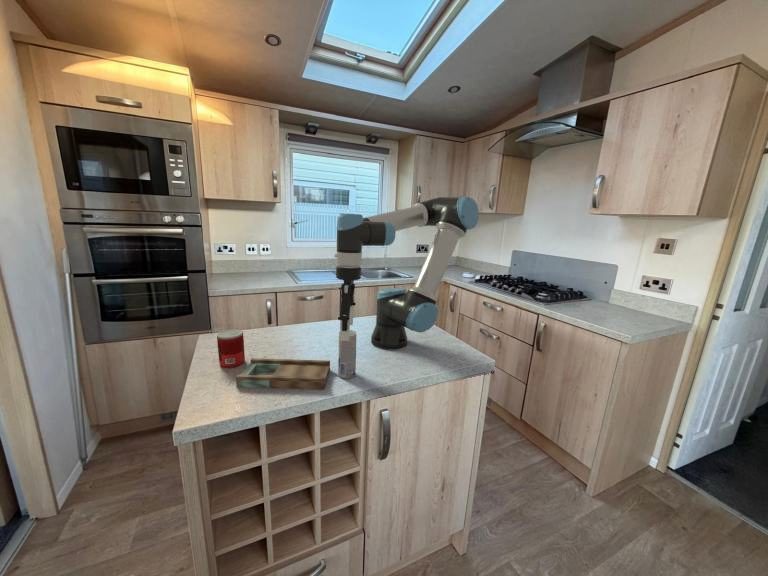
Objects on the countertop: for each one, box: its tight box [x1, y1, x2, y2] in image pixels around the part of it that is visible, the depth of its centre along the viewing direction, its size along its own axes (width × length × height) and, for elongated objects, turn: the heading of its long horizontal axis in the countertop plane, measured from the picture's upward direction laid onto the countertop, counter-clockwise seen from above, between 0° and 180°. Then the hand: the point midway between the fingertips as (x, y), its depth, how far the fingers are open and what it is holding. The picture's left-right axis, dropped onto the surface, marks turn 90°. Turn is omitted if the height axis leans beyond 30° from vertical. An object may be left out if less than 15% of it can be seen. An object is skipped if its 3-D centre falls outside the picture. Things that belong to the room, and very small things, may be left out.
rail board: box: [235, 357, 331, 391], centre depth 98 cm, size 26×12×4 cm, turn 91°
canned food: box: [216, 328, 246, 369], centre depth 105 cm, size 8×8×11 cm
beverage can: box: [337, 329, 357, 379], centre depth 100 cm, size 6×6×15 cm
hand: (346, 332), depth 98 cm, fingers open, 13 cm apart
